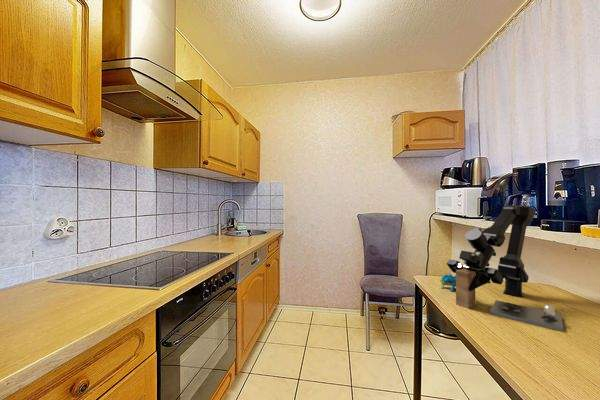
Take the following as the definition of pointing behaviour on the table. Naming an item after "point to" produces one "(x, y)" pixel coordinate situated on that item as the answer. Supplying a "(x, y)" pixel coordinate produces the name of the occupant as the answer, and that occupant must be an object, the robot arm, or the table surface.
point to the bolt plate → (529, 314)
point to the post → (465, 288)
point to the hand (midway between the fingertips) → (463, 288)
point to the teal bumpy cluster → (448, 281)
